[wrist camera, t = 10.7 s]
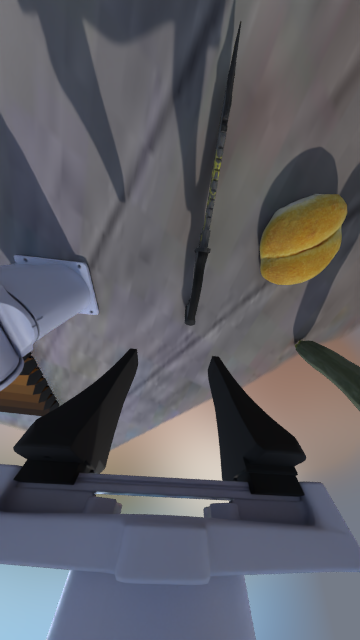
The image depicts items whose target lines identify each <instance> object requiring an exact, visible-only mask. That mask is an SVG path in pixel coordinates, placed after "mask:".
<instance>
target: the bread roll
mask: <svg viewBox="0 0 360 640" xmlns="http://www.w3.org/2000/svg"><path fill="white" fill-rule="evenodd" d="M346 215H347V204H346V203H345V201H344V200H343V198H342V197H341V196H340V195H338V194H318V193H317V194H314V195H311V196H308V197H306V198H303V199H300V200H298V201H295V202H293V203H291V204H288V205H287V206H285V207H284V208H280V209H279V210H277V211H276V212H275V213H274V215H273V217H272V218H271V220H270V222H269V223H268V225H267V226H266V228H265V230H264V232H263V234H262V238H261V242H260V256H261V265H260V270H261V274H262V276H263V277H264V278H265V279H266V280H268V281H270V282H272V283H275V284H278V285H292V284H297V283H301V282H304V281H307V280H309V279H311V278H313V277H314V276H316V275H317V274H319V273H320V272H321V271H322V270H323V269H324V268H325V267H326V266H327V265H328V264H329V263H330V261H331V260H332V259H333V258H334V256H335V255H336V253H337V252H338V250H339V248H340V245H341V239H342V232H341V225H342V223H343V221H344V220H345V217H346Z"/></svg>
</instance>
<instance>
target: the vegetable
mask: <svg viewBox="0 0 360 640" xmlns="http://www.w3.org/2000/svg"><path fill="white" fill-rule="evenodd" d="M295 347H296V350H297V352H298V353H299V355H300V356H301V357H302V358H303V359H305V361H306V362H307V363H309V364H310V365H311V366H312V367H313V368H315V369H316V370H317V371H319V372H320V373H322V374H323V375H324V376H326V377H327V378H328V379H329V380H330V381H331V382H332V383H334V384H335V385H336V386H337V387H338V388H339V389H340V390H341V391H342V392H343V393H344V394H345V395H346V396H347V397H348V398H349V400H350V401H351V402H352V403H353V404H354V405H355V406H356V408H357V409H358V410H359V411H360V367H359V366H357V365H355V364H354V363H352V362H350V361H348V360H347V359H345V358H344V357H342V356H340V355H339V354H338V353H336V352H334V351H332V350H330V349H328V348H327V347H325V346H322V345H320V344H318V343H316V342H313V341H301V340H300V341H299V342H298V344H296V345H295Z"/></svg>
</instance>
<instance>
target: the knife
mask: <svg viewBox="0 0 360 640" xmlns="http://www.w3.org/2000/svg"><path fill="white" fill-rule="evenodd" d="M240 28H241V22H240V25H239V29H238V33H237V37H236V41H235V45H234V50H233V55H232V61H231V66H230V70H229V74H228V80H227V85H226V91H225V96H224V102H223V108H222V114H221V120H220V127H219V133H218V139H217V146H216V152H215V158H214V165H213V171H212V178H211V184H210V190H209V197H208V203H207V209H206V216H205V222H204V227H203V229H202V233H201V236H200V242H199V247H198V248H196V249H195V252H196V260H195V267H194V279H193V287H192V293H191V298H190V300H189V303H188V306H186V309H185V324H187V325H190V326H192V325H194V324H195V315H196V311H197V307H198V302H199V297H200V292H201V287H202V281H203V274H204V268H205V263H206V260H207V256H208V253H210V250H211V249H209V248H207V247H208V241H209V235H210V230H209V229H210V223H211V217H212V212H213V206H214V200H215V194H216V189H217V183H218V177H219V171H220V166H221V159H222V154H223V148H224V143H225V137H226V131H227V122H228V117H229V112H230V107H231V102H232V90H233V83H234V76H235V67H236V58H237V50H238V43H239V35H240Z"/></svg>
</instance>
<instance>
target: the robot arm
mask: <svg viewBox="0 0 360 640" xmlns="http://www.w3.org/2000/svg"><path fill="white" fill-rule="evenodd" d="M26 259H27V260H28V261H27V260H26ZM14 260H15V262H16V264H9V265H1V266H0V391H2V390H3V389H4V388H6V387H7V386H8V385H10V384H11V383H12V382H13V381H14V380H15V379H16V378H17V377H18V376H19V374H20V373H21V371H22V369H23V367H24V360H23V358H22V357H24V356H25V355H26V354H28V353H29V352H31V351H32V350H33V343H34V342H35V341H37V340H38V339H40V338H41V337H43V336H44V335H46V334H47V333H49V332H50V331H52V330H53V329H55V328H56V327H58V326H59V325H61V324H62V323H64V322H65V321H67V320H68V319H70V318H71V317H73V316H74V315H76V314H77V313H82V314H92V315H97V314H99V309H98V305H97V301H96V297H95V293H94V289H93V285H92V280H91V276H90V272H89V268H88V265H87V264H86V263H83V262H74V261H66V260H57V259H49V258H40V257H31V256H23V255H15V256H14ZM79 265H80V266H81V268H80V267H79ZM92 311H93V312H92ZM137 367H138V355H137V349H129V350H128V351H127V352H126V354H125V355H124V356H123V357H122V358H121V359H120V360H119V361H118V362H117V363H116V364H115V365H114V366H113V367H112V368H111V369H110V370H108V371H107V372H106V373H105V374H104V375H103V376H102V377H100V378H99V379H98V380H97V381H96V382H94V383H93V384H92V385H90V386H89V387H88V388H86V389H85V390H84V391H82V392H81V393H79V394H78V395H76V396H75V397H73V398H72V399H70V400H69V401H67V402H66V403H64V404H63V405H61V406H59V407H58V408H56V409H54V410H52V411H51V412H49V413H47V414H45V415H44V416H42V417H40V418H38V419H37V420H36V421H35V422H34V423H33V424H32V425H31V426H30V428H29V429H28V430H27V431H26V432H25V434H24V435H23V436H22V438H21V439H20V440H19V441H18V442H17V444H16V445H15V446H14V447H13V448H14V451H15V452H16V453H17V454H19V455H21V456H23V457H24V458H26V459H27V461H26V462H25V464H24V465H23V467H22V466H18V465H5V464H0V564H8V565H20V566H32V567H43V568H54V569H66V570H70V571H69V575H68V577H67V580H66V583H65V586H64V589H63V592H62V594H61V597H60V600H59V603H58V606H57V609H56V612H55V615H54V618H53V621H52V623H51V626H50V629H49V632H48V635H47V638H46V640H256V638H255V632H254V627H253V622H252V617H251V611H250V606H249V600H248V595H247V589H246V583H245V578H244V575H257V574H285V573H311V572H312V573H313V572H360V547H359V545H358V543H357V541H356V540H355V538H354V536H353V535H352V533H351V531H350V530H349V528H348V526H347V524H346V523H345V521H344V519H343V518H342V516H341V514H340V512H339V510H338V509H337V507H336V505H335V504H334V502H333V500H332V498H331V497H330V495H329V494H328V492H327V490H326V488H325V487H324V485H323V484H322V483H321V482H298V480H297V478H296V475H298V474H297V471H296V469H295V467H294V466H296V465H298V464H299V463H302V462H303V461H305V460H306V455H305V454H304V452H303V450H302V449H301V446H300V445H299V443H298V441H297V440H296V438H295V437H294V436H293V435H291V434H290V433H289V432H288V431H287V430H285V429H284V428H283V427H282V426H280V425H279V424H278V423H277V422H276V421H274V420H273V419H272V418H271V417H270V416H269V415H267V414H266V413H265V412H264V411H263V410H262V409H261V408H260V407H259V406H258V405H257V404H256V403H255V402H254V401H253V400H252V399H251V398H250V397H249V396H248V395H247V394H246V393H245V391H244V390H243V389H242V388H241V387H240V385H239V384H238V383H237V382H236V380H235V379H234V378H233V376H232V375H231V374H230V372H229V371H228V370H227V368H226V367H225V365H224V364H223V362H222V361H221V359H220V358H219V357H216V356H212V359H211V362H210V365H209V368H208V378H209V384H210V388H211V393H212V397H213V402H214V406H215V412H216V419H217V427H218V436H219V446H220V457H221V469H222V480H223V481H217V480H200V479H182V478H181V479H180V478H164V477H146V476H128V475H110V474H100V473H101V472H102V471H103V470H104V469H105V467H106V463H107V459H108V455H109V451H110V448H111V444H112V440H113V437H114V433H115V430H116V426H117V423H118V420H119V416H120V413H121V410H122V407H123V404H124V401H125V398H126V396H127V393H128V391H129V389H130V386H131V384H132V381H133V379H134V376H135V374H136V370H137ZM95 494H110V495H131V496H152V497H172V498H190V499H210V500H230V501H229V503H213V504H210V506H209V507H205V508H204V518H203V517H189V516H172V515H147V514H120V513H121V508H122V505H121V504H120V503H117V502H116V499H110V498H102V497H96V495H95Z"/></svg>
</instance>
